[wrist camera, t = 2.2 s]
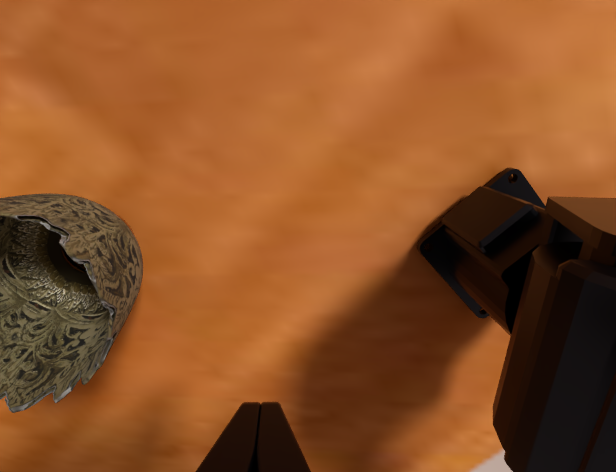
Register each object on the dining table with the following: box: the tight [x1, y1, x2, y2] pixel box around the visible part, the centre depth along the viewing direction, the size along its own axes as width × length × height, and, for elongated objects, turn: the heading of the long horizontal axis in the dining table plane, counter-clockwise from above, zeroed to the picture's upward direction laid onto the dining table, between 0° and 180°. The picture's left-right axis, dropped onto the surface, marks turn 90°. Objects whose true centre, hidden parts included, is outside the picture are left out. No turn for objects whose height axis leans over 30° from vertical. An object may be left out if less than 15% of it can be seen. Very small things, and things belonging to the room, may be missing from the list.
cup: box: [0, 194, 143, 413], centre depth 15 cm, size 7×7×8 cm
